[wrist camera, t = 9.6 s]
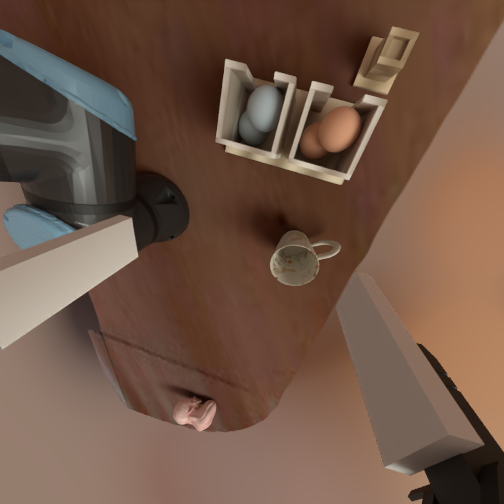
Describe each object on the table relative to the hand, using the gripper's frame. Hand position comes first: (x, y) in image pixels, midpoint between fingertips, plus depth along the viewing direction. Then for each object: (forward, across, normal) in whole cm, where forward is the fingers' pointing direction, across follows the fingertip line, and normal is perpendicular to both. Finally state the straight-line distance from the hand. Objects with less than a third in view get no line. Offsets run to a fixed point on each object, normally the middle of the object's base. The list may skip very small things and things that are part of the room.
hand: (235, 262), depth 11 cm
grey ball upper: (+24, -4, +10) cm, 26 cm away
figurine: (+29, -12, -98) cm, 103 cm away
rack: (+29, +1, +9) cm, 30 cm away
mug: (+29, +9, -9) cm, 32 cm away
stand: (+28, +11, +18) cm, 36 cm away
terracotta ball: (+23, +6, +9) cm, 25 cm away
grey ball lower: (+28, -4, +9) cm, 30 cm away
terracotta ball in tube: (+28, +6, +8) cm, 30 cm away
